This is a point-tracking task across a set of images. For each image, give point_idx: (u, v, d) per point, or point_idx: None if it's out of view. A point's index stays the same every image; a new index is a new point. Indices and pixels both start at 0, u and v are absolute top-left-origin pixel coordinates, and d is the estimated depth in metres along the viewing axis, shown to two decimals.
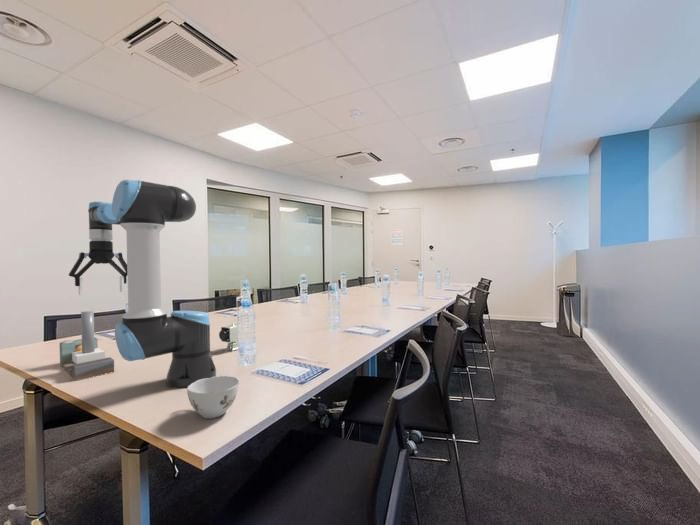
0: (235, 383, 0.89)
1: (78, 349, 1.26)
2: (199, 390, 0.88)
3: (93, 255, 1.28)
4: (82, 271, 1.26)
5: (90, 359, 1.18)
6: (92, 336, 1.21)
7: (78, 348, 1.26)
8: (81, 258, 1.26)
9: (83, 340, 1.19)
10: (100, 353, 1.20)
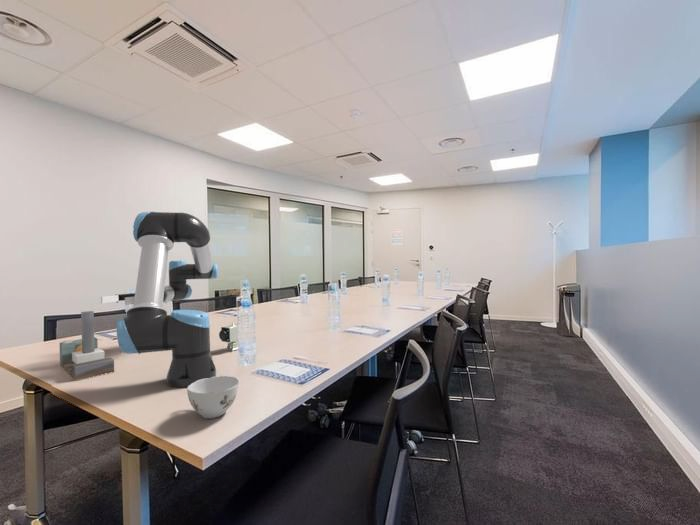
0: (235, 383, 0.89)
1: (78, 349, 1.26)
2: (199, 390, 0.88)
3: None
4: (124, 294, 1.40)
5: (90, 359, 1.18)
6: (92, 336, 1.21)
7: (78, 348, 1.26)
8: (135, 293, 1.45)
9: (83, 340, 1.19)
10: (100, 353, 1.20)
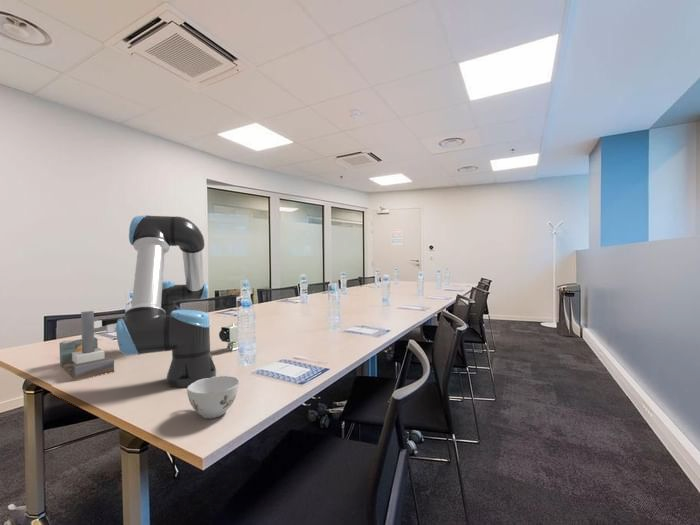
0: (235, 383, 0.89)
1: (78, 349, 1.26)
2: (199, 390, 0.88)
3: None
4: (108, 319, 1.34)
5: (90, 359, 1.18)
6: (92, 336, 1.21)
7: (78, 348, 1.26)
8: (120, 317, 1.39)
9: (83, 340, 1.19)
10: (100, 353, 1.20)
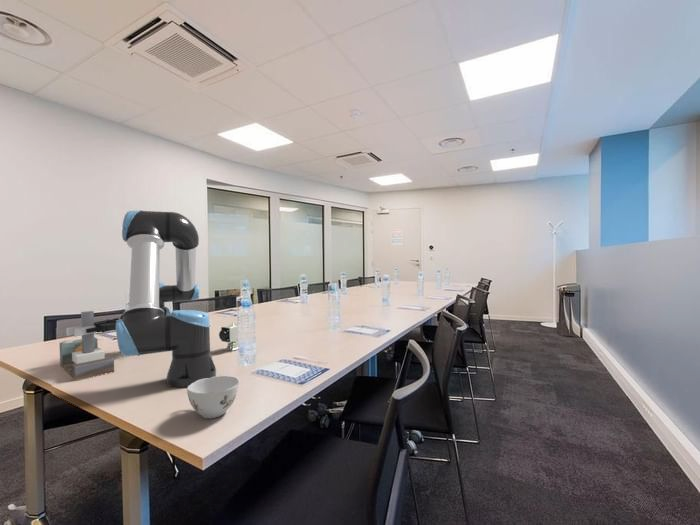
0: (235, 383, 0.89)
1: (78, 349, 1.26)
2: (199, 390, 0.88)
3: None
4: (94, 323, 1.25)
5: (90, 359, 1.18)
6: (92, 336, 1.21)
7: (78, 348, 1.26)
8: None
9: (83, 340, 1.19)
10: (100, 353, 1.20)
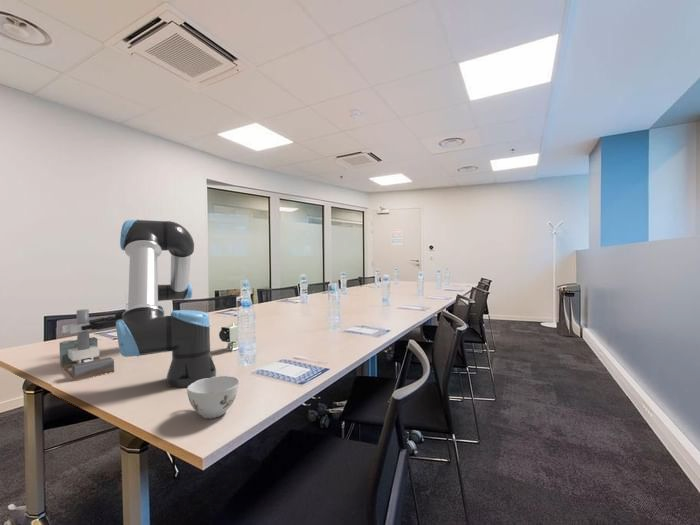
0: (235, 383, 0.89)
1: None
2: (199, 390, 0.88)
3: None
4: (89, 321, 1.30)
5: (85, 355, 1.23)
6: (87, 333, 1.25)
7: None
8: None
9: (78, 337, 1.24)
10: (95, 350, 1.25)
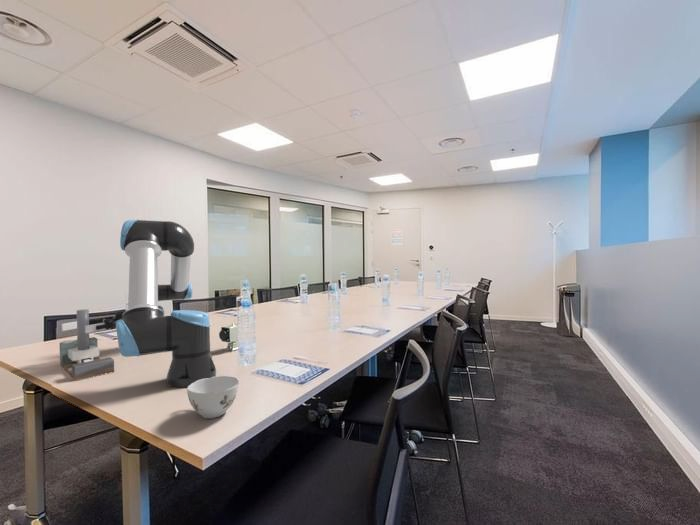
0: (235, 383, 0.89)
1: None
2: (199, 390, 0.88)
3: None
4: None
5: (85, 355, 1.23)
6: (87, 333, 1.25)
7: (77, 347, 1.27)
8: None
9: (78, 337, 1.24)
10: (95, 350, 1.25)
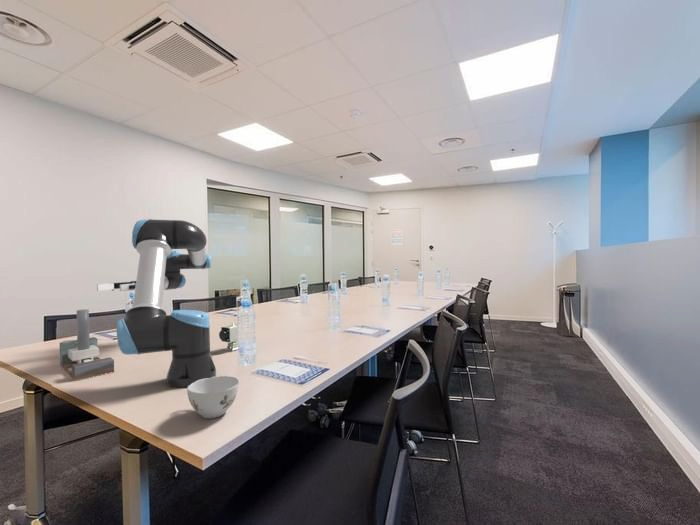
0: (235, 383, 0.89)
1: None
2: (199, 390, 0.88)
3: None
4: None
5: (85, 355, 1.23)
6: (87, 333, 1.25)
7: (77, 347, 1.27)
8: None
9: (78, 337, 1.24)
10: (95, 350, 1.25)
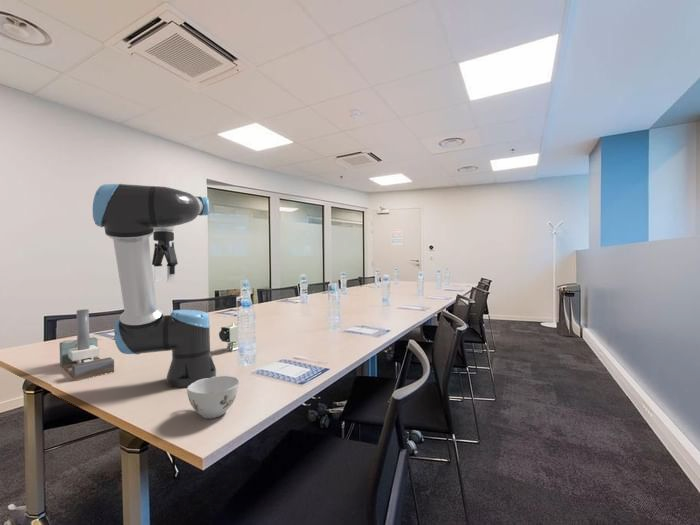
0: (235, 383, 0.89)
1: None
2: (199, 390, 0.88)
3: None
4: (155, 260, 1.40)
5: (85, 355, 1.23)
6: (87, 333, 1.25)
7: (77, 347, 1.27)
8: (154, 249, 1.40)
9: (78, 337, 1.24)
10: (95, 350, 1.25)
